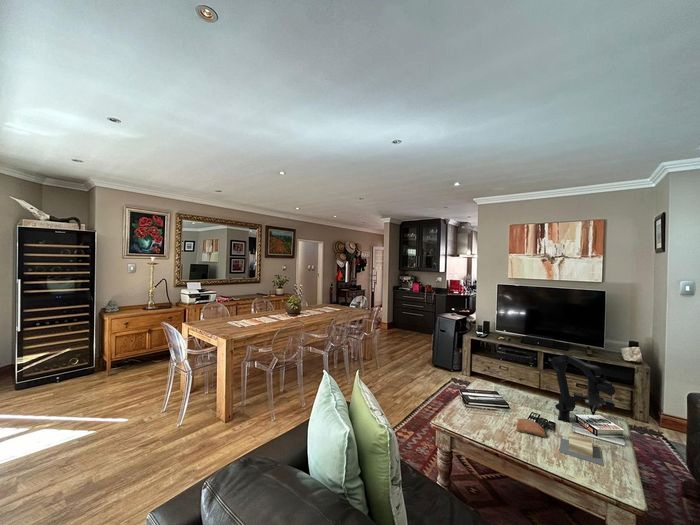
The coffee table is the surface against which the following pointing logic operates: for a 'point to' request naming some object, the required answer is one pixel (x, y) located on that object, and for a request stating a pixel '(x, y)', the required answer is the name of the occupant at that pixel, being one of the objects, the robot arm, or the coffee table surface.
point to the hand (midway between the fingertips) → (593, 414)
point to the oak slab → (580, 445)
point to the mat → (596, 454)
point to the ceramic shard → (530, 427)
